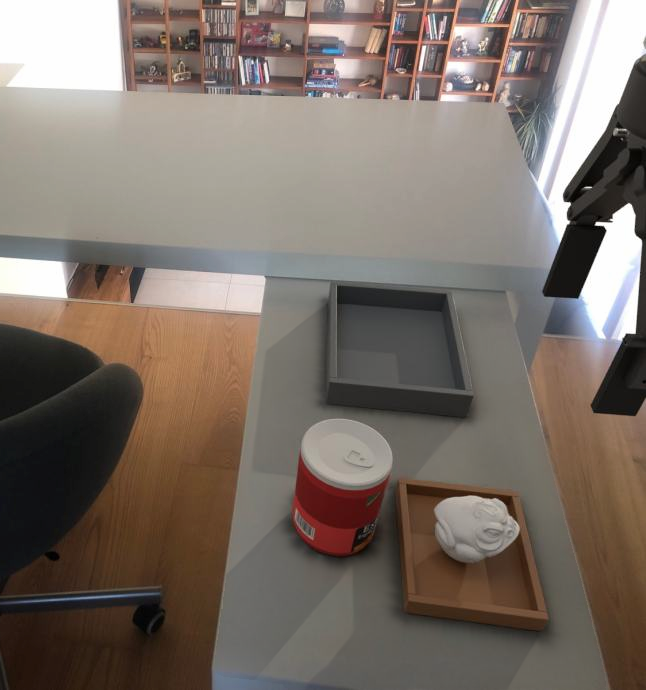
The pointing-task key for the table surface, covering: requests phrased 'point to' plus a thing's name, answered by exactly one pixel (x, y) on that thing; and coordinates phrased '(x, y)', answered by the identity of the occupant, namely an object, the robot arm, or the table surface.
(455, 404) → the tub
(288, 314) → the table surface
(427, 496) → the tray
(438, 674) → the table surface
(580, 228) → the robot arm
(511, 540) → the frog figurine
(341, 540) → the canned food
